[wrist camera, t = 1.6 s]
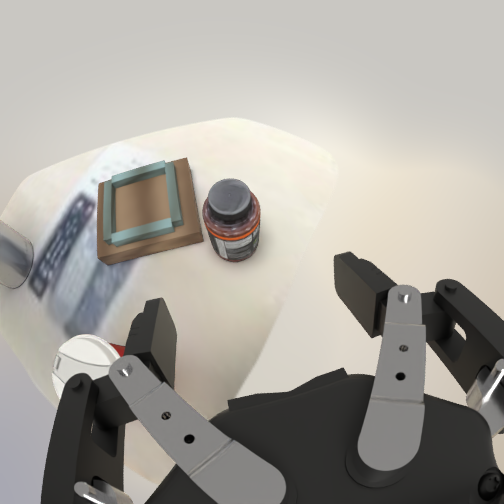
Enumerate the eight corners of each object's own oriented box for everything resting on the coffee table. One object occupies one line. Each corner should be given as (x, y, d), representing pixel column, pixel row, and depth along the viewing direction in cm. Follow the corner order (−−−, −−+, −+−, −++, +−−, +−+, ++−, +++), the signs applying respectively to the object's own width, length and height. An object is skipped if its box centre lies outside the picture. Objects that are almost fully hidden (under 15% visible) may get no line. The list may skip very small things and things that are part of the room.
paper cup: (109, 385, 29) (40, 394, 16) (127, 332, 31) (61, 316, 18) (162, 412, 28) (110, 444, 15) (182, 357, 30) (136, 360, 17)
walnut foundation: (107, 265, 34) (92, 254, 30) (106, 194, 38) (94, 178, 34) (203, 241, 36) (197, 226, 31) (190, 169, 40) (184, 150, 35)
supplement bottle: (212, 221, 37) (199, 170, 26) (257, 219, 37) (260, 167, 26) (211, 264, 35) (195, 224, 24) (259, 262, 35) (263, 222, 24)
